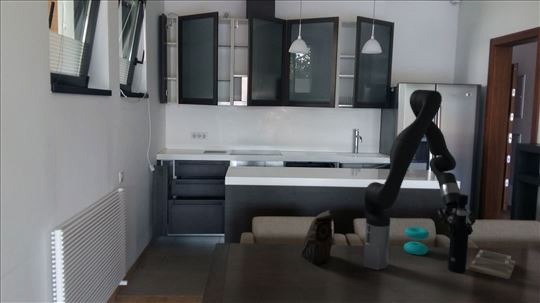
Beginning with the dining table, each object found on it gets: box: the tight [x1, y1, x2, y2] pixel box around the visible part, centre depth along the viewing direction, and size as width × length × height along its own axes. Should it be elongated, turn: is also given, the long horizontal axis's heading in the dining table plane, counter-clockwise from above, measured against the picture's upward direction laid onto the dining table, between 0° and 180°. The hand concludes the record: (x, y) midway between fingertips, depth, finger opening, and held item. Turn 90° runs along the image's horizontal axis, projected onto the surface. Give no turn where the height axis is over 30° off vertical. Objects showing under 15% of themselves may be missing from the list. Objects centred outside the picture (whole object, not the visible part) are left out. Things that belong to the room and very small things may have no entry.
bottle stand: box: [468, 249, 516, 280], centre depth 171 cm, size 18×14×4 cm
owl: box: [300, 209, 334, 266], centre depth 173 cm, size 13×13×20 cm
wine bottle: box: [447, 193, 469, 274], centre depth 166 cm, size 6×6×30 cm
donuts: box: [403, 226, 430, 256], centre depth 186 cm, size 10×10×10 cm
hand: (461, 233), depth 164 cm, fingers closed on wine bottle, 6 cm apart
